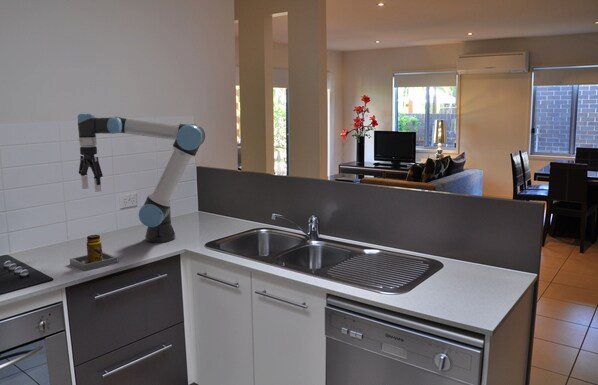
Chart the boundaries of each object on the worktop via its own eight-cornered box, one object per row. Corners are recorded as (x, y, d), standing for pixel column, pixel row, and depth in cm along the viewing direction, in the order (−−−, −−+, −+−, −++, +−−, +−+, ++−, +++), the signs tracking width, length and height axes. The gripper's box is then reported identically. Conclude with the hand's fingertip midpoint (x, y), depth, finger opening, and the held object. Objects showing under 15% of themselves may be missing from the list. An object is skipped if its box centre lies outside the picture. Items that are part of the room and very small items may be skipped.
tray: (102, 256, 235) (102, 251, 235) (117, 262, 226) (117, 257, 225) (70, 264, 224) (69, 258, 224) (84, 270, 215) (83, 265, 215)
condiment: (104, 263, 224) (102, 236, 222) (83, 266, 220) (81, 239, 218) (102, 258, 230) (100, 233, 228) (82, 261, 227) (80, 235, 225)
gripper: (69, 145, 249) (72, 188, 252) (92, 148, 232) (96, 193, 235) (84, 144, 254) (87, 186, 258) (108, 146, 237) (111, 191, 241)
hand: (91, 190), depth 247 cm, fingers open, 13 cm apart
